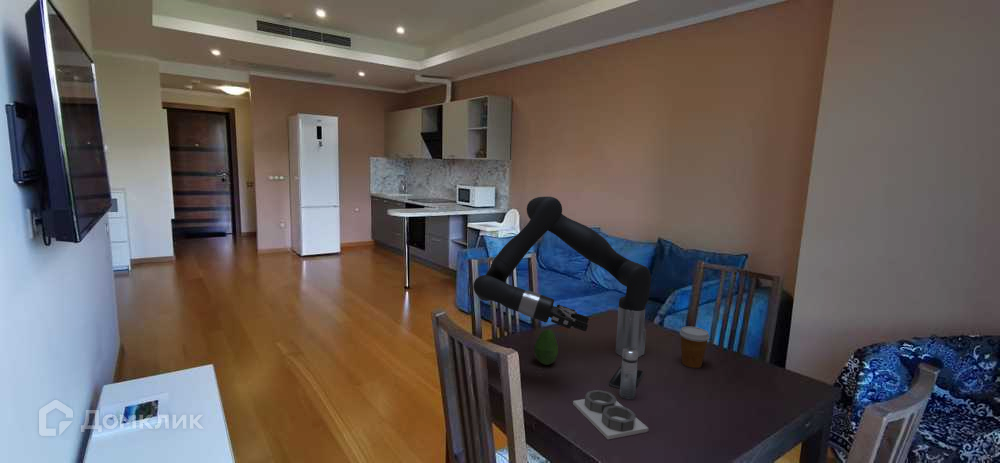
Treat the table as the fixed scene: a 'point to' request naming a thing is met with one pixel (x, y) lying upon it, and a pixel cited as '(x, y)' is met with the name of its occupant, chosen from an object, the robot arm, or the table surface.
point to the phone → (617, 378)
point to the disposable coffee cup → (693, 345)
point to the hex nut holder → (609, 415)
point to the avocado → (546, 347)
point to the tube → (628, 373)
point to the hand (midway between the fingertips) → (587, 324)
